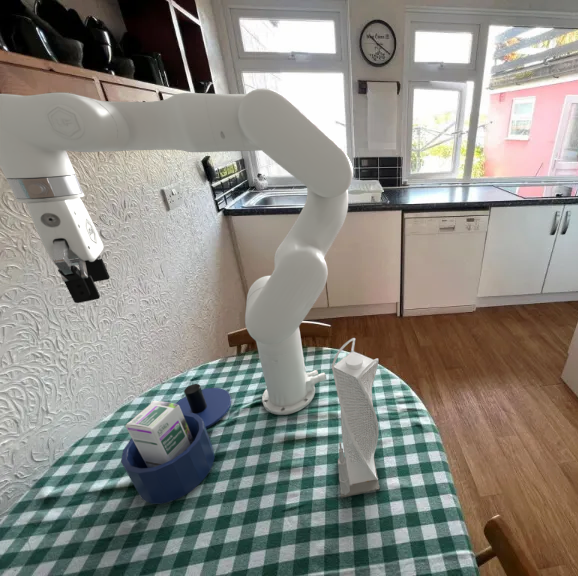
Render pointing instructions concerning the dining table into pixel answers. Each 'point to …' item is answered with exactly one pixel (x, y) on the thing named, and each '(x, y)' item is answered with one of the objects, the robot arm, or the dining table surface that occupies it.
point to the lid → (205, 403)
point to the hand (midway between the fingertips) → (94, 289)
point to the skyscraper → (356, 422)
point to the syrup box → (160, 433)
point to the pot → (171, 467)
